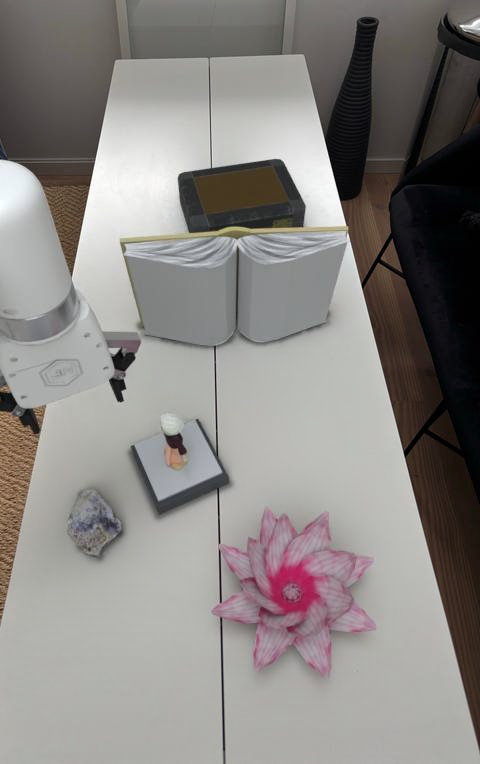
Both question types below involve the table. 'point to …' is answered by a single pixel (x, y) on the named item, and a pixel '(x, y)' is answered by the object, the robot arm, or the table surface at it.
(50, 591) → the table surface
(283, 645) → the decorative flower
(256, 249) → the book
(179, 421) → the grandmother figurine
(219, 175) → the cash box
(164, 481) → the scale
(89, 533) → the mineral specimen
